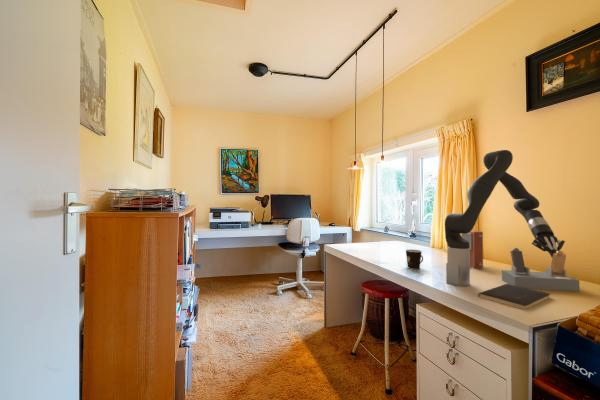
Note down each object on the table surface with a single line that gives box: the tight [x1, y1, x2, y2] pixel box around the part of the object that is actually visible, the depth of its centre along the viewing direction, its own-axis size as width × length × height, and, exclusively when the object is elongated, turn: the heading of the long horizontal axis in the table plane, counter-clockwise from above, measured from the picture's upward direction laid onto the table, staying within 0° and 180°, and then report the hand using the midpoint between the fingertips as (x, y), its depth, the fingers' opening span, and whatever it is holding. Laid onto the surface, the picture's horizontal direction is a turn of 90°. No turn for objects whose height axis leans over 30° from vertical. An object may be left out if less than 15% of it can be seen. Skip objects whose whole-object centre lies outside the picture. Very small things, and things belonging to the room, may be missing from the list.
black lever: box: [509, 247, 526, 273], centre depth 130 cm, size 4×3×12 cm, turn 76°
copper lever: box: [550, 250, 567, 276], centre depth 123 cm, size 4×3×12 cm, turn 77°
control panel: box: [460, 229, 484, 269], centre depth 164 cm, size 21×7×15 cm
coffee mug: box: [405, 249, 424, 270], centre depth 159 cm, size 12×9×10 cm
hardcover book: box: [477, 283, 552, 310], centre depth 111 cm, size 16×23×2 cm
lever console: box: [501, 265, 580, 292], centre depth 126 cm, size 24×12×8 cm, turn 77°
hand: (557, 258), depth 123 cm, fingers closed
